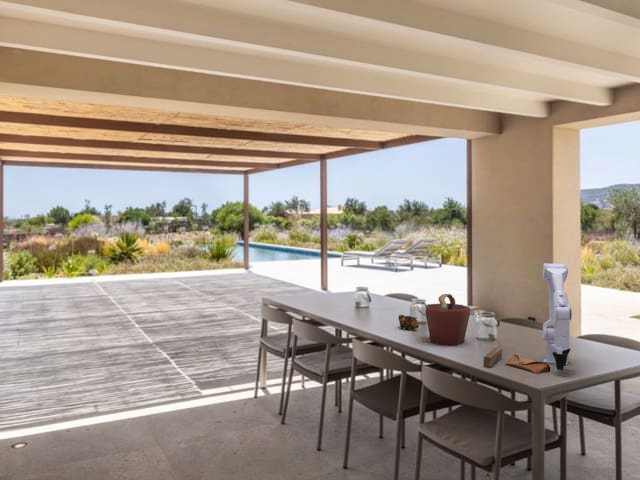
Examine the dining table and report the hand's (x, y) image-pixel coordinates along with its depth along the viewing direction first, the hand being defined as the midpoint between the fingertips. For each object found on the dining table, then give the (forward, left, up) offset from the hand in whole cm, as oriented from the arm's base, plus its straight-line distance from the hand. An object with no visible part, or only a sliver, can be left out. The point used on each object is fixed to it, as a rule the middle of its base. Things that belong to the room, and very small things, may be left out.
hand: (561, 367), depth 215 cm
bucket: (+59, -27, -2) cm, 65 cm away
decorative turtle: (+88, -47, -2) cm, 100 cm away
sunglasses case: (+14, +1, -3) cm, 14 cm away
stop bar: (+28, 0, -2) cm, 28 cm away
